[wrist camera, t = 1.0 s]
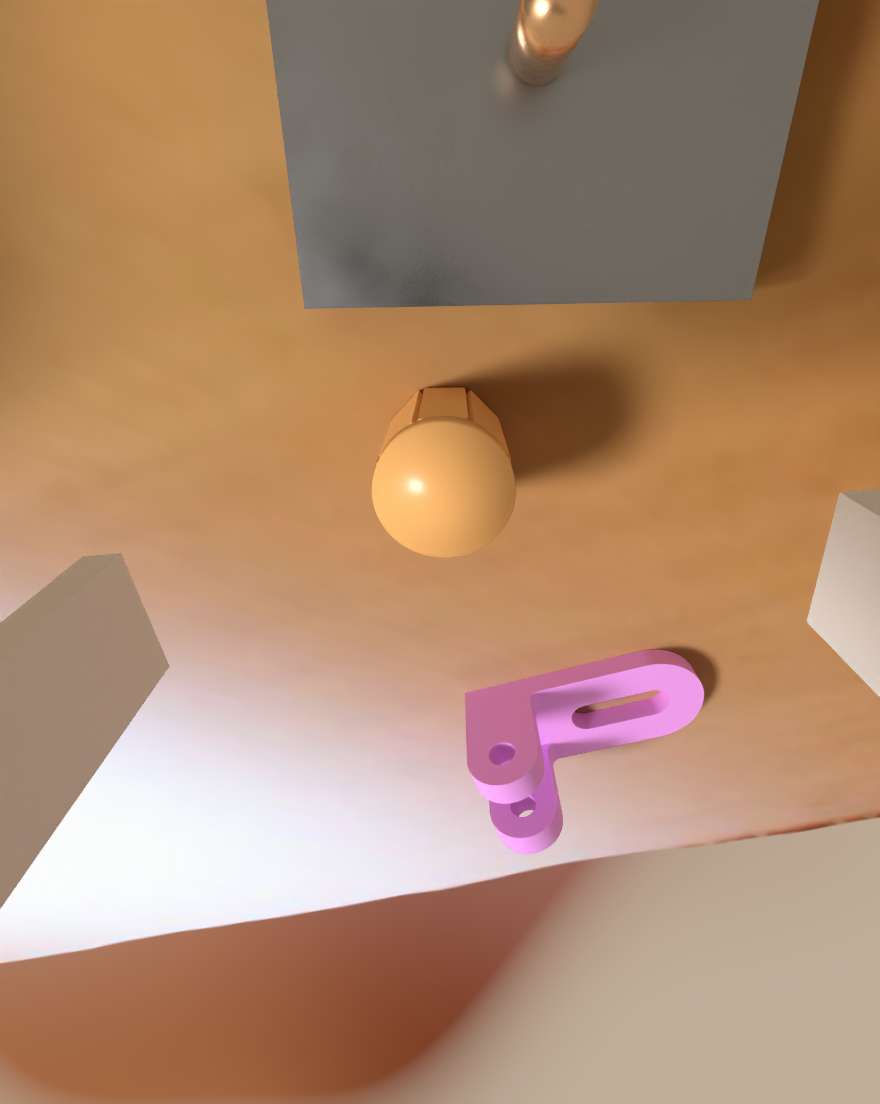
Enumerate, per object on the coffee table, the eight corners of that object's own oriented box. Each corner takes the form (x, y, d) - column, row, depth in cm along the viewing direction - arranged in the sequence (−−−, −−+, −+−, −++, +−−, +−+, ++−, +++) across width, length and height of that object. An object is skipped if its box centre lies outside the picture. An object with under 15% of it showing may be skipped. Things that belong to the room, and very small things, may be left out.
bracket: (491, 754, 35) (499, 860, 29) (464, 691, 33) (468, 792, 27) (699, 708, 33) (756, 811, 27) (688, 637, 31) (747, 733, 24)
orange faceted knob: (392, 496, 27) (377, 557, 21) (385, 386, 24) (365, 424, 19) (500, 494, 26) (512, 556, 21) (503, 384, 24) (519, 422, 19)
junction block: (321, 302, 23) (273, 319, 16) (263, -226, 16) (145, -530, 10) (715, 294, 22) (816, 309, 16) (823, -251, 16) (1067, -583, 9)
